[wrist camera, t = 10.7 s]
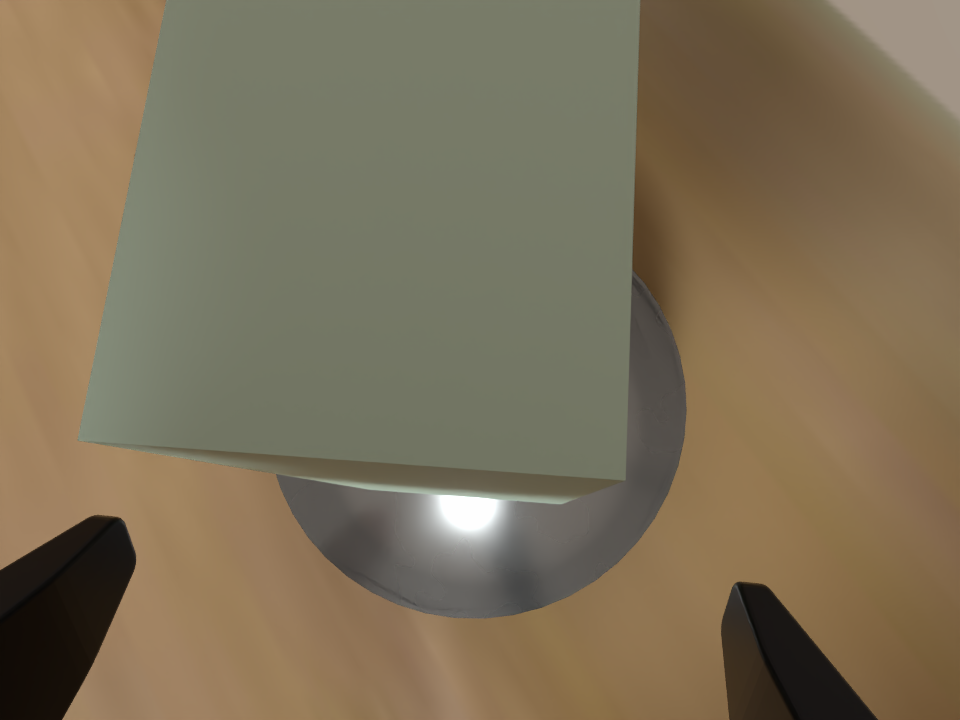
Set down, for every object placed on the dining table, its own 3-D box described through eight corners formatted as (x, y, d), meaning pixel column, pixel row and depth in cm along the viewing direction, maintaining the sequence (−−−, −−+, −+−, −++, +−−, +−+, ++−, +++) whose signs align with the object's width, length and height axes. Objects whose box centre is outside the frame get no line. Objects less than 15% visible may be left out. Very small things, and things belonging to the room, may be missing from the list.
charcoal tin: (677, 591, 21) (712, 607, 17) (310, 608, 21) (262, 628, 17) (638, 242, 23) (661, 186, 19) (311, 267, 24) (269, 217, 20)
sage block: (561, 504, 18) (625, 480, 6) (368, 489, 18) (76, 440, 6) (570, 316, 19) (640, -16, 7) (388, 306, 19) (171, -23, 7)
